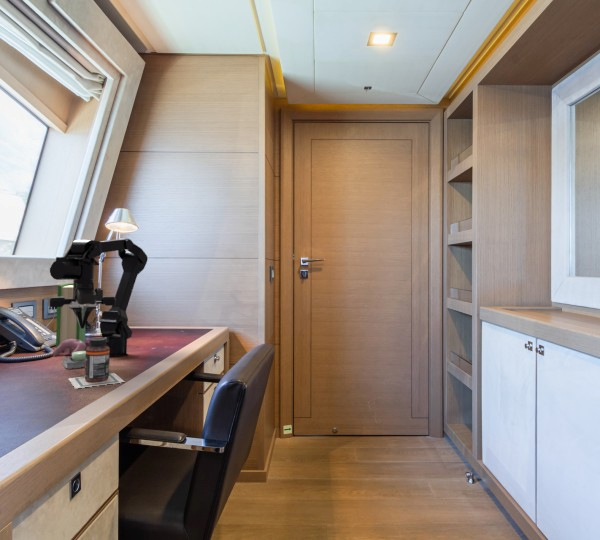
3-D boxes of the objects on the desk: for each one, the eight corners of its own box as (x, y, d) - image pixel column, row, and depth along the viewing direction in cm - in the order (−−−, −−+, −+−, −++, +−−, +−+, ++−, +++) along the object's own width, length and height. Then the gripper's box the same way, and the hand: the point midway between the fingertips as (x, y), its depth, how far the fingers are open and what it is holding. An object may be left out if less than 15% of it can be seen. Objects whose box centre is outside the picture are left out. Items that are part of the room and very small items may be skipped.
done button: (88, 357, 136) (88, 350, 136) (91, 360, 132) (91, 353, 132) (70, 359, 133) (70, 351, 133) (73, 362, 129) (73, 354, 129)
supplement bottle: (85, 377, 116) (87, 337, 116) (109, 376, 118) (110, 336, 118) (83, 383, 110) (85, 340, 110) (108, 381, 112) (109, 340, 113)
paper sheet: (114, 374, 122) (114, 372, 122) (124, 382, 113) (124, 381, 113) (68, 379, 115) (68, 378, 115) (75, 389, 106) (75, 387, 106)
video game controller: (82, 361, 143) (90, 341, 146) (72, 357, 139) (81, 337, 142) (60, 358, 146) (68, 339, 149) (50, 355, 143) (59, 335, 146)
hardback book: (78, 350, 153) (80, 285, 153) (55, 351, 150) (57, 285, 150) (84, 342, 169) (86, 283, 169) (64, 343, 167) (66, 283, 167)
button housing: (93, 360, 138) (93, 354, 138) (99, 365, 131) (99, 360, 131) (62, 363, 133) (62, 357, 133) (66, 369, 126) (67, 363, 126)
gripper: (53, 280, 120) (51, 334, 120) (121, 280, 131) (119, 330, 131) (48, 278, 129) (46, 329, 129) (112, 279, 140) (111, 325, 140)
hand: (82, 328), depth 132 cm, fingers closed
